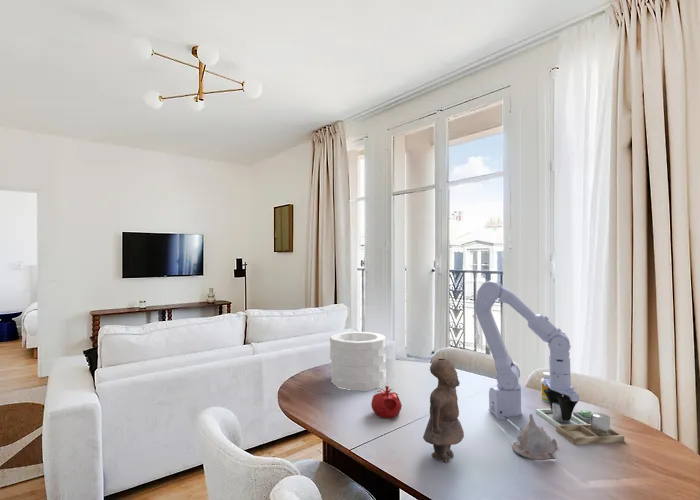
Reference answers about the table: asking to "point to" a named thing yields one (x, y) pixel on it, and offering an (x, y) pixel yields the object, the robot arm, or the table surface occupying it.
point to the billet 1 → (557, 412)
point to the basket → (358, 360)
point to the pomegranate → (386, 404)
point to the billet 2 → (600, 424)
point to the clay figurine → (444, 411)
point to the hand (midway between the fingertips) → (561, 416)
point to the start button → (585, 413)
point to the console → (578, 415)
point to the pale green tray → (542, 413)
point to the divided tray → (587, 434)
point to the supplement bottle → (543, 395)
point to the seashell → (534, 442)
